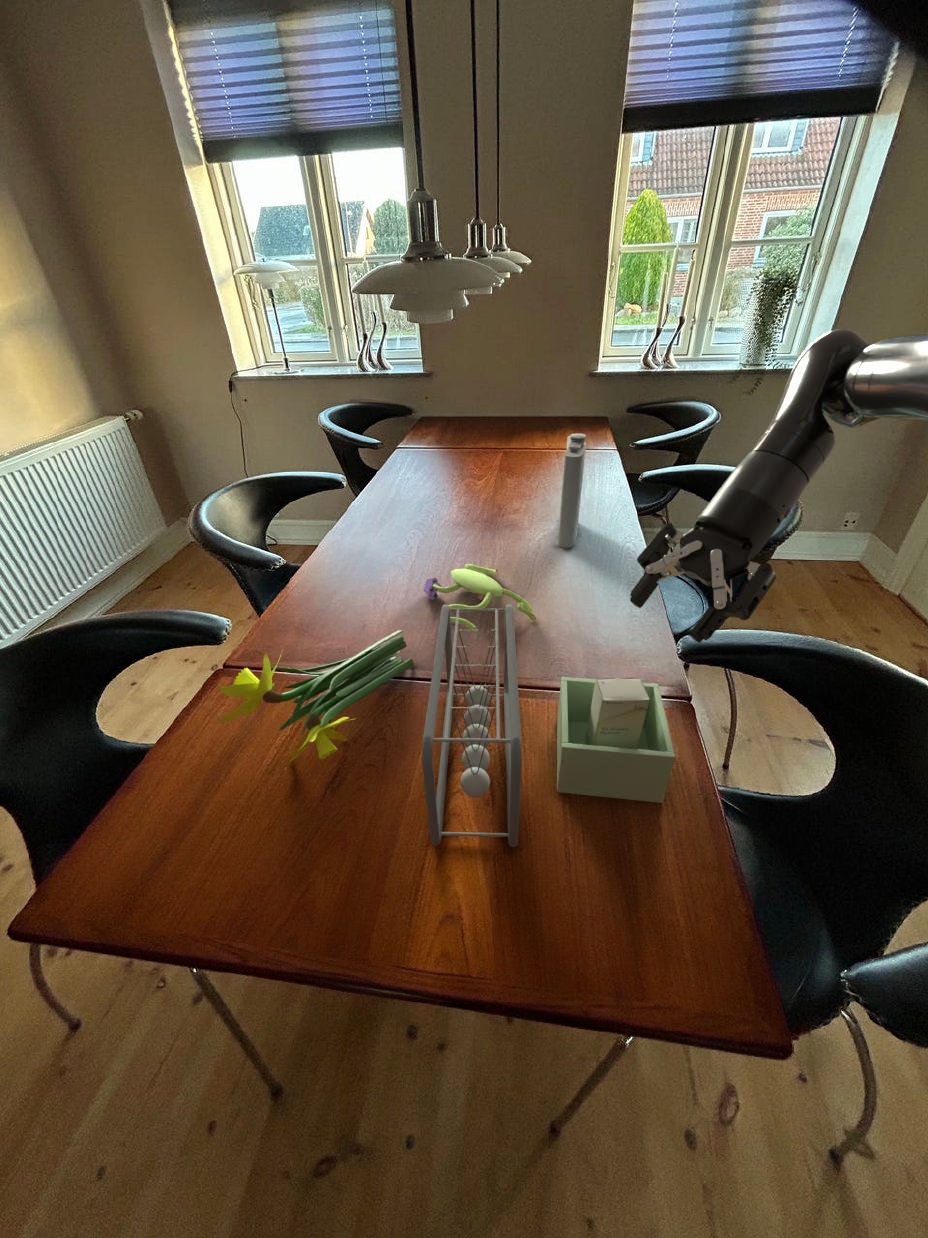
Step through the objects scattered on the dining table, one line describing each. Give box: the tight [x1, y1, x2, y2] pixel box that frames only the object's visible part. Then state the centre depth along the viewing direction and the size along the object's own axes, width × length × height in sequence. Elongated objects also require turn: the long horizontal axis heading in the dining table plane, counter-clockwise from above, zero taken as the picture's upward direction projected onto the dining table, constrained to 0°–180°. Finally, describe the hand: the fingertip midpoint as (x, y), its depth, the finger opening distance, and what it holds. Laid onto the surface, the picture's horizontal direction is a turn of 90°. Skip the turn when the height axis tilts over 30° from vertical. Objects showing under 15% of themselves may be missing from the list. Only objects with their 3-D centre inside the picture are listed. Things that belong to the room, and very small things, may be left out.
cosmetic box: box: [585, 677, 649, 749], centre depth 72 cm, size 6×4×12 cm
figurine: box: [423, 563, 537, 633], centre depth 109 cm, size 18×27×6 cm
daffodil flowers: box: [216, 629, 415, 771], centre depth 80 cm, size 17×15×35 cm
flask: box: [556, 433, 587, 548], centre depth 131 cm, size 17×5×25 cm, turn 168°
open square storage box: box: [556, 676, 676, 804], centre depth 73 cm, size 14×14×9 cm
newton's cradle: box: [421, 603, 523, 848], centre depth 71 cm, size 30×10×18 cm, turn 178°
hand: (663, 621), depth 61 cm, fingers open, 8 cm apart
